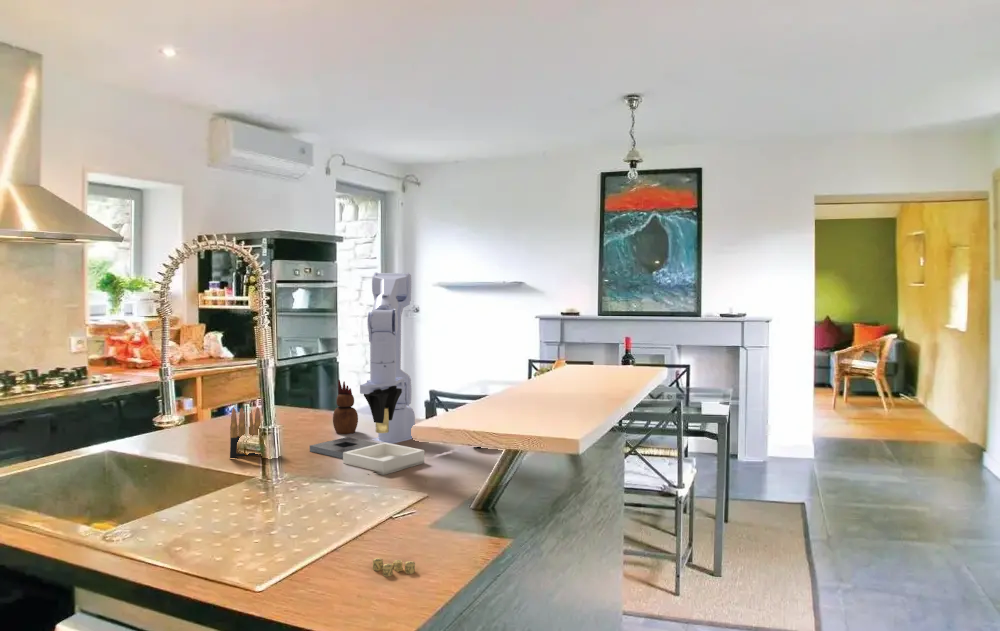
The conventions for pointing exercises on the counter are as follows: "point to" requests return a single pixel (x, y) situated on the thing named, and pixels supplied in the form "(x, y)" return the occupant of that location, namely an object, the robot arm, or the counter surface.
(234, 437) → the ammunition clip
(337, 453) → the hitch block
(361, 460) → the tray
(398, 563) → the dice set
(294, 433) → the counter surface
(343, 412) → the wooden figurine
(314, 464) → the counter surface
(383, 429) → the gold upright block
